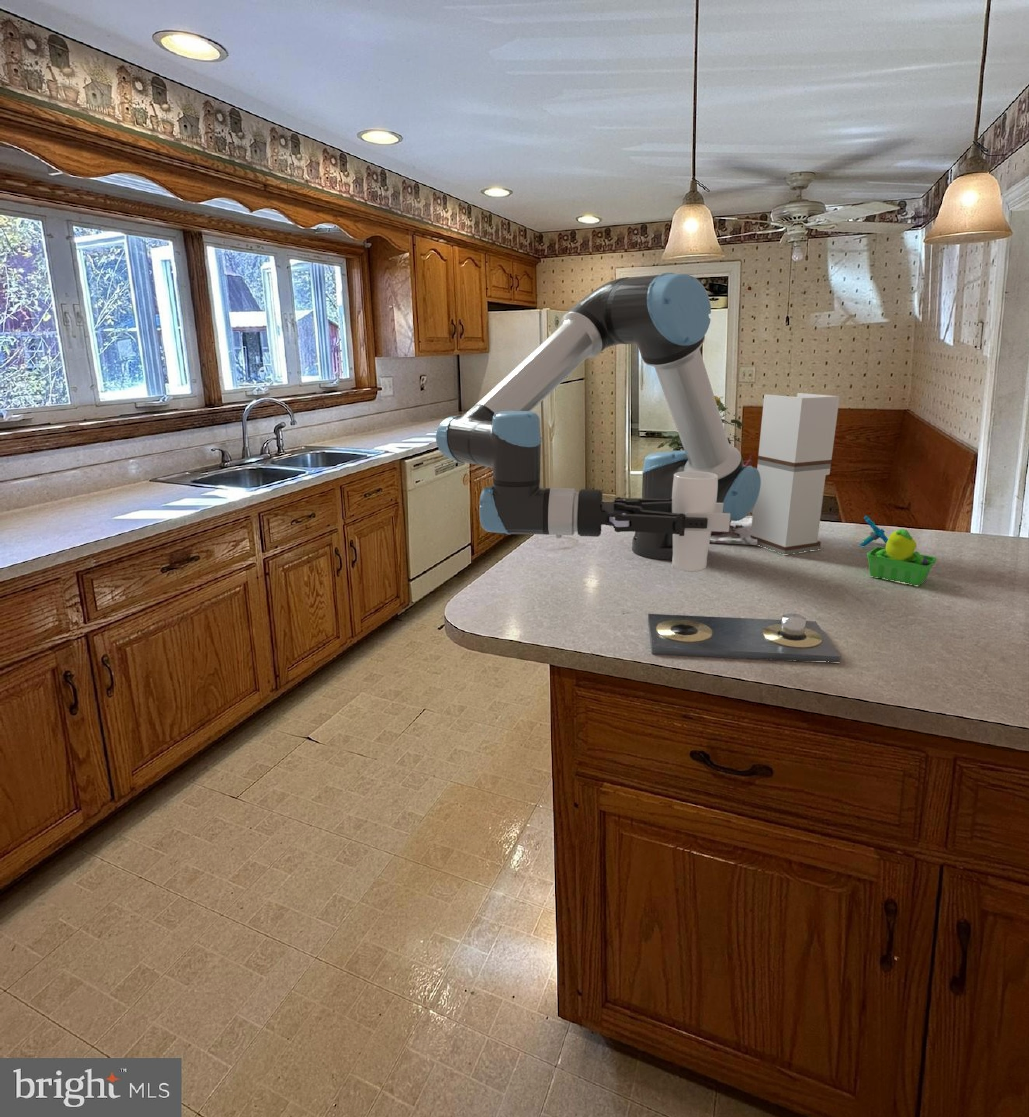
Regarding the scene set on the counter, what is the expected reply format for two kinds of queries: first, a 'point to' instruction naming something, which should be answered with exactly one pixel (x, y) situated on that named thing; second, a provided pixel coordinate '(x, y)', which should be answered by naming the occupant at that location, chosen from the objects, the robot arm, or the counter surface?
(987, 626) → the counter surface
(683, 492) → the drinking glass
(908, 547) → the fruit basket
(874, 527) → the blue plastic t-shaped piece
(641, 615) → the counter surface
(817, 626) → the bolt plate
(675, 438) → the potted flower
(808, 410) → the white banded pillar
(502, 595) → the counter surface
